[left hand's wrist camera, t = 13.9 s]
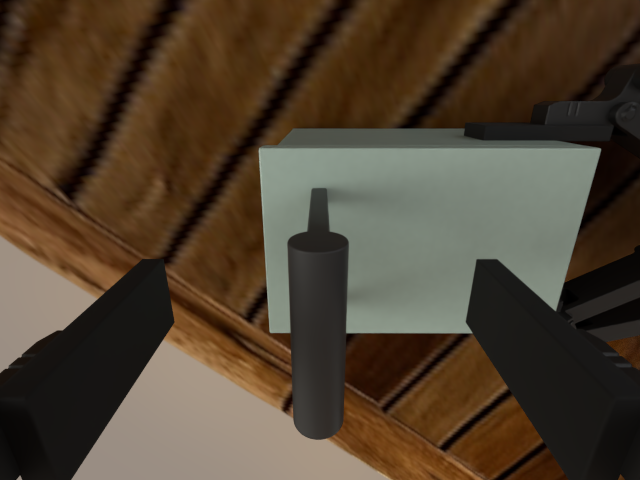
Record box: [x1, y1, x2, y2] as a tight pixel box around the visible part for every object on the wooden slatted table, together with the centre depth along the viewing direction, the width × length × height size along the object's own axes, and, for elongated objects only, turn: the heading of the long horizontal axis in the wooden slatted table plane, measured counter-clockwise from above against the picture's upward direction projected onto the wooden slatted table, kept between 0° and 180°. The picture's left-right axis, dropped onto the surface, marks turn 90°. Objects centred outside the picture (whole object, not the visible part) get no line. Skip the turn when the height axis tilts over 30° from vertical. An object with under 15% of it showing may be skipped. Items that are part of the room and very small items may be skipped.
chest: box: [278, 129, 583, 146], centre depth 23 cm, size 14×10×10 cm
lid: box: [259, 145, 601, 440], centre depth 14 cm, size 15×10×9 cm, turn 90°
